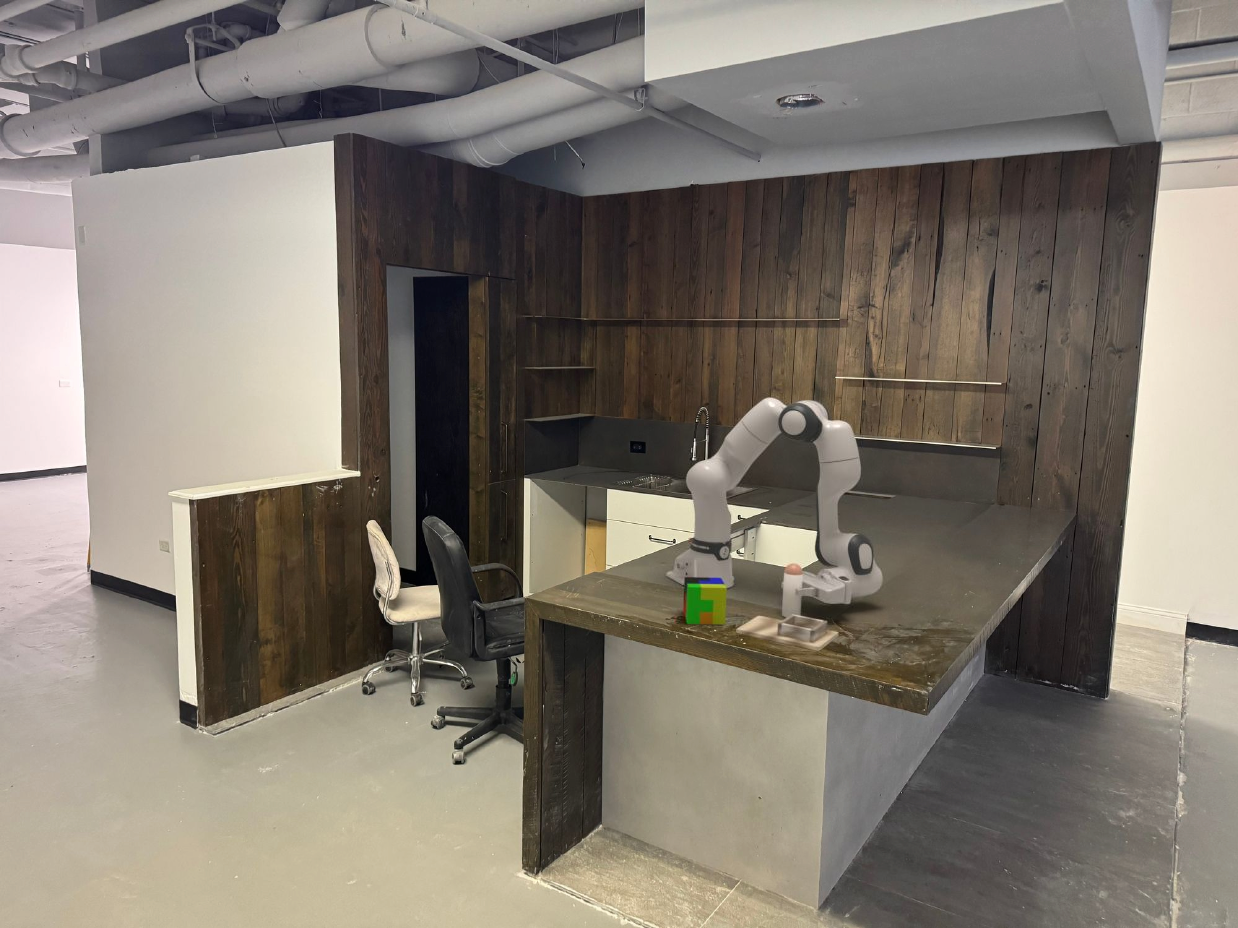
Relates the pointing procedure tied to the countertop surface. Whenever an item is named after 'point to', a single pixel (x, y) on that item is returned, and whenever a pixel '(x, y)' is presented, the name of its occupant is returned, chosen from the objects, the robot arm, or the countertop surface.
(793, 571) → the dome-capped white cylinder
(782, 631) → the jig cradle
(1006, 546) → the countertop surface
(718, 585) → the puzzle toy
